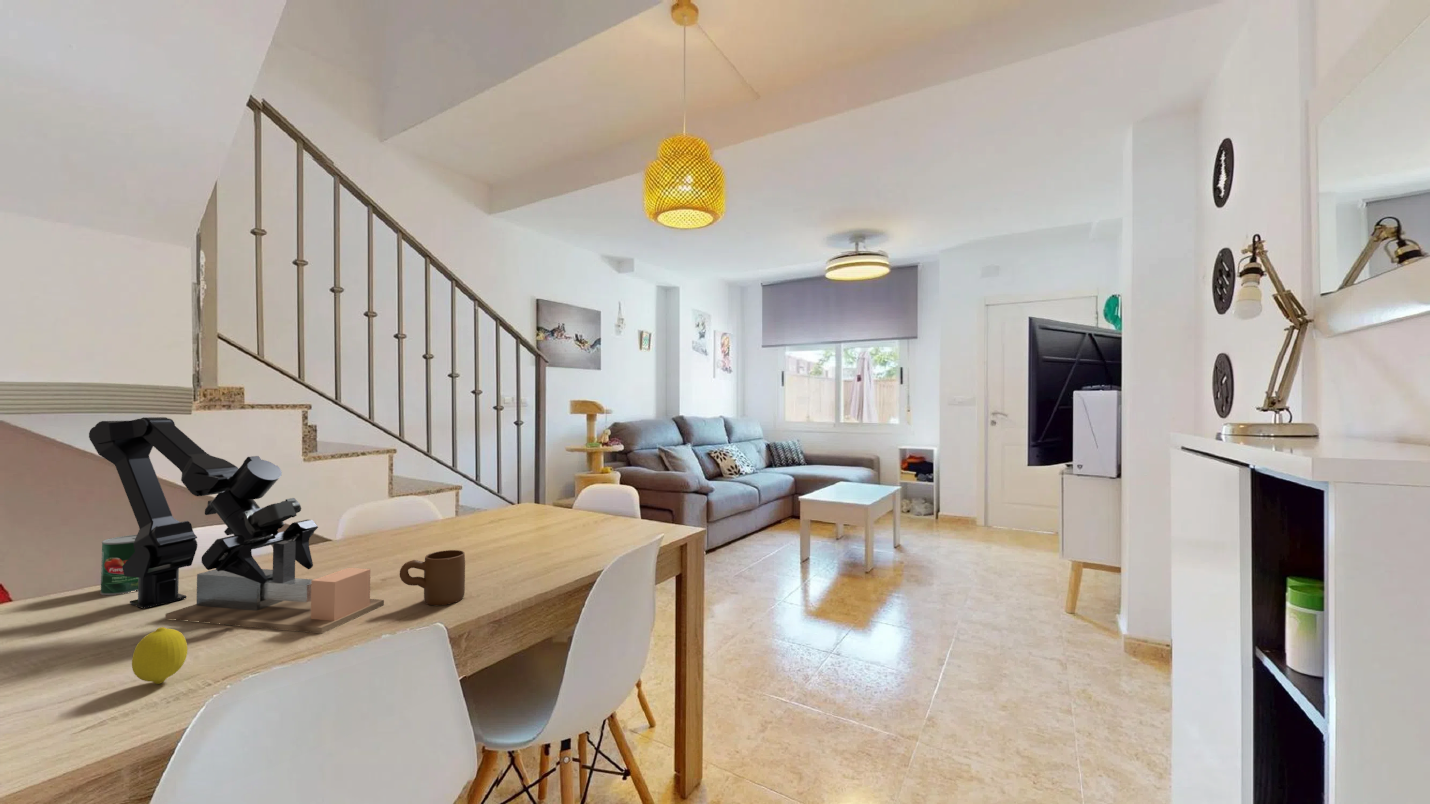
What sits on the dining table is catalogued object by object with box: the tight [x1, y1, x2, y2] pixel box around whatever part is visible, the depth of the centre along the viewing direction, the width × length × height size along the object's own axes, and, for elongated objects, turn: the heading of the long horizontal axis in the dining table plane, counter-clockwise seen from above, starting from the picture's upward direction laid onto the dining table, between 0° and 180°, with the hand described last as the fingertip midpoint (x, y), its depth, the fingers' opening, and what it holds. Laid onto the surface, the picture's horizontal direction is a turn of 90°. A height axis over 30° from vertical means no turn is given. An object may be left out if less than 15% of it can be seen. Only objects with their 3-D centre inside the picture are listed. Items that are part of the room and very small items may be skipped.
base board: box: [164, 598, 385, 634], centre depth 104 cm, size 34×14×1 cm, turn 80°
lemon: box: [131, 626, 188, 685], centre depth 77 cm, size 6×6×8 cm
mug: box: [399, 549, 466, 606], centre depth 110 cm, size 12×8×9 cm, turn 128°
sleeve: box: [195, 568, 282, 611], centre depth 105 cm, size 14×5×6 cm, turn 80°
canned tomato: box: [99, 534, 138, 596], centre depth 116 cm, size 8×8×11 cm
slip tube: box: [260, 541, 314, 602], centre depth 105 cm, size 23×3×11 cm, turn 80°
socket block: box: [311, 567, 371, 621], centre depth 101 cm, size 5×8×7 cm, turn 170°
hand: (289, 574), depth 104 cm, fingers open, 9 cm apart
